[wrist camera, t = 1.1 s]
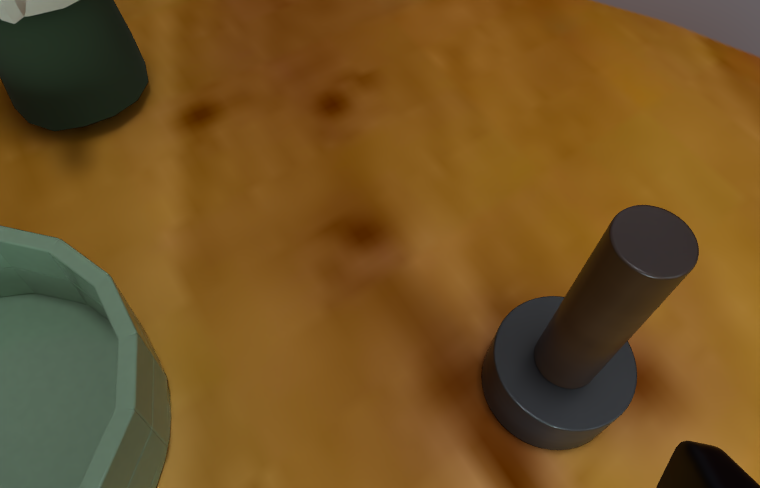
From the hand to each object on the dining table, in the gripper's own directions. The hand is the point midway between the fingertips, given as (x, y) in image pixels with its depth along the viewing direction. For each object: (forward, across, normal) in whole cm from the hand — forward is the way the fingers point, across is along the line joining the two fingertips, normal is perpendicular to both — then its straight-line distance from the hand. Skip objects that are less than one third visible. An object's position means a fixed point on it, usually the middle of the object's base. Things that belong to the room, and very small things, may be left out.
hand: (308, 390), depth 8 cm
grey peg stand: (+14, -7, +10) cm, 18 cm away
